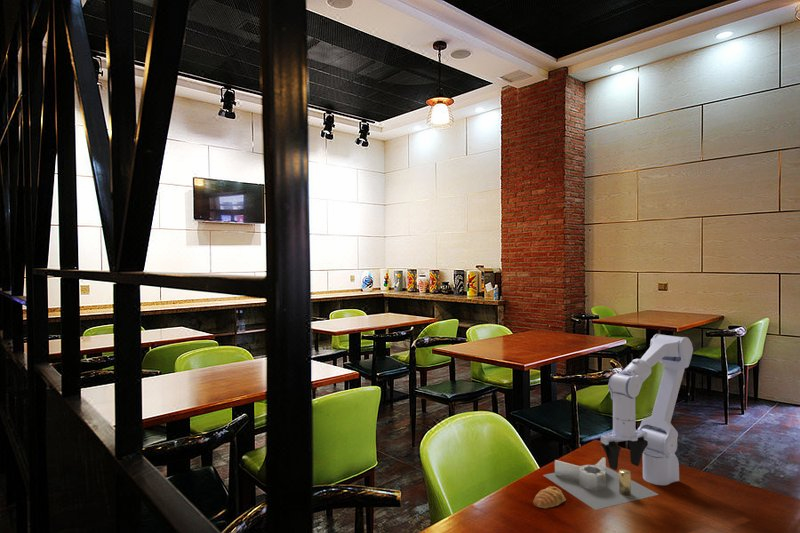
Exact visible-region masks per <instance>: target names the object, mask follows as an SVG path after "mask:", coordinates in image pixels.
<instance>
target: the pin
mask: <svg viewBox="0 0 800 533" xmlns="http://www.w3.org/2000/svg"><path fill="white" fill-rule="evenodd" d="M618 473H619V493H620V494H621V495H624V496H630V495H631V480H632V479H631V478H632V476H631V471H630V470H627V469H619V470H618Z"/></svg>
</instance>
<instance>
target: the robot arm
mask: <svg viewBox="0 0 800 533" xmlns="http://www.w3.org/2000/svg"><path fill="white" fill-rule="evenodd" d="M693 353H694V347H693V343H692V341H691V340H690V338H689V337H687V336H676V335H666V334H661V333H656V334H654V335H653V337H652V338H651V339H650V344H649V348H648V349H647V350H646V351H645V353H644V354H643V355H642V356H641V358H635V359H632V360H631V362H630V363H629V364H628V365H626V367H625V368H624V369H623V370H621V371H620V372H619V373H617V372H616V373H614V374H613V375H611V376H610V377H609V380H608V384H607V388H608V389H607V390H609V391H608V392H609V393H610V399H611V400H612V430H611V431H610V432H608V433H605V434H602V435H600V445H601V446H602V448H603V450H604V452H605V455H606V459H607V462H608V465H609V466H608V467H609V468H610V469H612V470H614V471H617V470H618V467H619V457H620V456H619V455H620V452H621V449H622V447H621V446H618V445H617V443H620V442H625V441H628V442H627V443H628V446H629V455H630V463H631V464H632V465H633V466H635V467H639V466H640V463H641V459H642V478H643V480H644V481H646V482H647V483H649V484H651V485H656V486H668V485H670V484H672V483H675V482H680V467H679V466H680V463H679V459H678V457H677V455H676V454H675V453H676V451H677V449H678V437H679V433H678V430H677V429H676V428H675V427H674V426H673V424H672V418H673V415H674V410H675V406H676V402H677V399H678V394H679V391H680V388H681V385H682V384H681V383H682V380H683V376H684V373H685V369H687V368H689V366H690V363H691V360H692V356H693ZM658 362H659V363H660V364H661V365H663V367H664V368H663V369H664V370H663V373H662V376H661V380H660V384H659V386H658V390H657V395H656V397H655V403H654V405H653V409H652V412H651V416H649V417H648V418H644V419H643V420H641V422H640V425H639V427H638V428H637V429H636V424H637V423H636V397H637V396H639V393H640V392H641V388H642V386H643V383H644V381H646V380H647V378H649V377H650V376H651V374H652V368H653V366H655V365H656V364H657V363H658Z"/></svg>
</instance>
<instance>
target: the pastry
mask: <svg viewBox="0 0 800 533" xmlns="http://www.w3.org/2000/svg"><path fill="white" fill-rule="evenodd" d="M565 501H567V499H566V497H565V495H564V493H563V492H562V490H561V489H560V488H559V487H556V486H548V487H546V488H544V489H541V490H539V491H538V493H537V494H536V495H535V496H534V499H533V501H532V503H533V505H534V506H535V507H538V508H539V509H549V508H553V507H556V506H560V505H561V504H563V503H564V502H565Z"/></svg>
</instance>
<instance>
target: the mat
mask: <svg viewBox="0 0 800 533" xmlns="http://www.w3.org/2000/svg"><path fill="white" fill-rule="evenodd" d="M596 464H597V463H595V464H593V465H594V466H595V465H596ZM542 476H543V477H545V478H546V479H547V480H549V481H551V482H553V483H554V484H556V485H557V486H559V488H561V489H563V490H565V492H567V493H568V494H570V495H572V496H573V497H575V498H576V499H578V500H579V501H581V502H582V503H584V504H585V505H587V506H588V507H590V509H593V510H594V511H597V510H602V509H606V508H610V507H614V506H618V505H621V504H626V503H631V502H635V501H638V500H643V499H646V498H651V497H655V496H659V493H657V492H655V491H653V490H651V489H649V488H647V486H646V487H645V486H643V485H642V484H640V483H638V482H637V481H634V480H633V479H631V495H630V496H624V495H621V494H620V493H619V472H618V471H617V470H614V469H612V468H610V467H609V466H606V473H605V479H606V486H605V490H602V491H598V492H596V491H591V490H586V489H584V488H583V487H581V486H580V485H579V482H576V481H572V480H569V479H565V478H562V477H558V476H555V472H551V473H546V474H543V475H542Z"/></svg>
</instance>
